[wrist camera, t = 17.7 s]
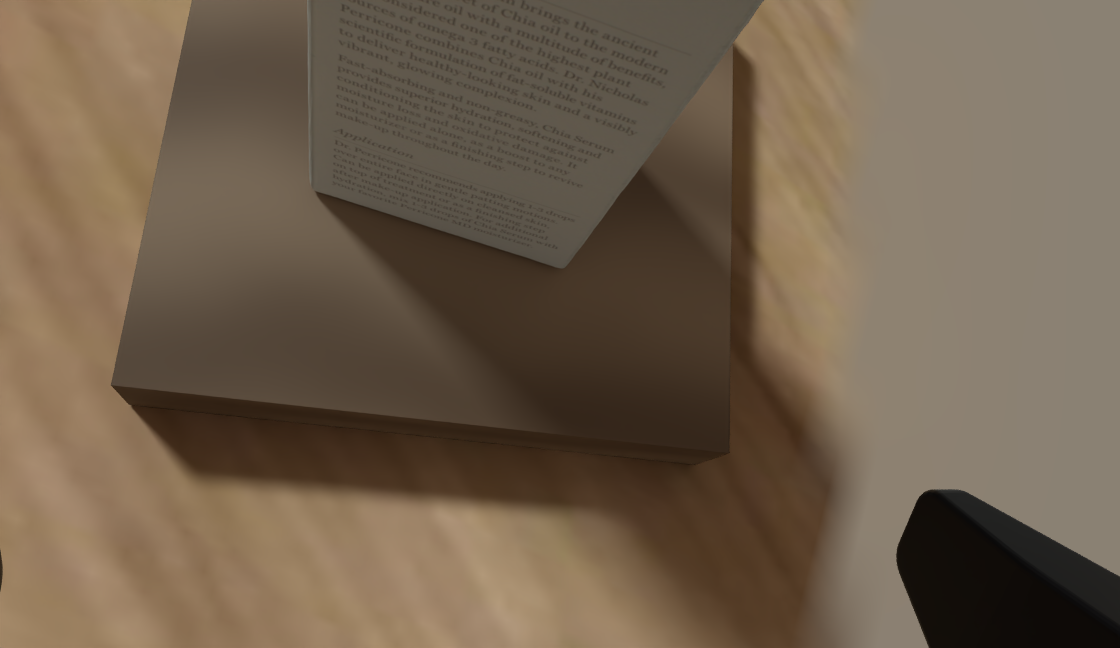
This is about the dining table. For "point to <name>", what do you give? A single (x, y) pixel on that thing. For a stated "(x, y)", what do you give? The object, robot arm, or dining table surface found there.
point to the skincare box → (503, 107)
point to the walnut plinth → (419, 280)
